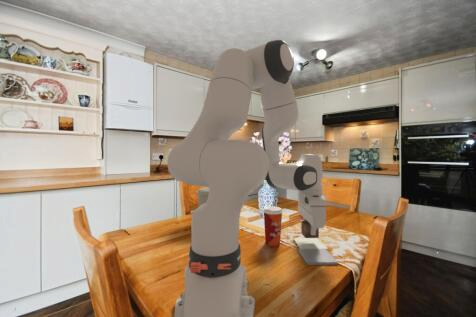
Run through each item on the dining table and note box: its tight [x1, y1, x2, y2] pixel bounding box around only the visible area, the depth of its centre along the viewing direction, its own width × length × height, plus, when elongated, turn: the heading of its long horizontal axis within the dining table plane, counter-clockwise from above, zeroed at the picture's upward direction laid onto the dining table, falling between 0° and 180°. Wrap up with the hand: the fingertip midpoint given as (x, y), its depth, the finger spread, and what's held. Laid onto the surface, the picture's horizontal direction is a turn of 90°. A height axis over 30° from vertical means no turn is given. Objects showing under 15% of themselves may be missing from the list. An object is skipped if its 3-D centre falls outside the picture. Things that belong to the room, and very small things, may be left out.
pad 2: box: [297, 248, 339, 266], centre depth 77 cm, size 10×10×1 cm
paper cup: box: [262, 205, 284, 247], centre depth 89 cm, size 8×8×14 cm
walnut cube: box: [300, 220, 320, 239], centre depth 87 cm, size 5×5×5 cm
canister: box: [195, 186, 209, 207], centre depth 113 cm, size 18×18×21 cm
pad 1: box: [293, 237, 329, 251], centre depth 87 cm, size 10×10×1 cm
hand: (309, 231), depth 87 cm, fingers closed on walnut cube, 5 cm apart
